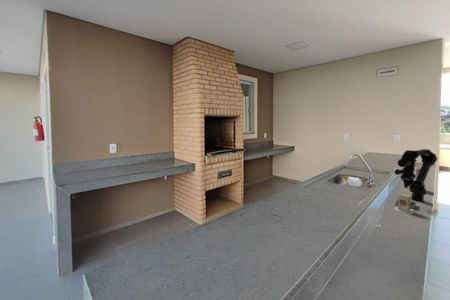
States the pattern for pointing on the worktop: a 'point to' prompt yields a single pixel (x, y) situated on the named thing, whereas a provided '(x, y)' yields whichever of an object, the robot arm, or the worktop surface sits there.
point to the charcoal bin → (412, 204)
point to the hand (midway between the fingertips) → (406, 187)
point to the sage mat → (404, 211)
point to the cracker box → (415, 174)
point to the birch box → (404, 202)
